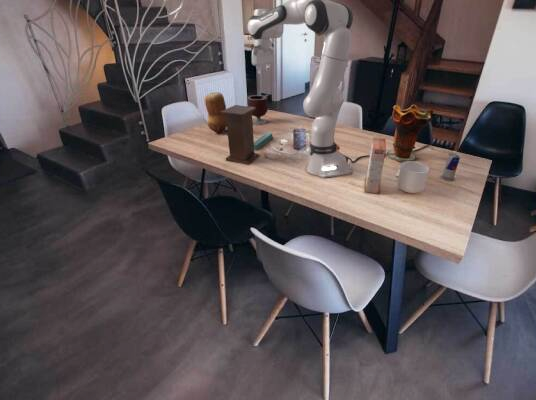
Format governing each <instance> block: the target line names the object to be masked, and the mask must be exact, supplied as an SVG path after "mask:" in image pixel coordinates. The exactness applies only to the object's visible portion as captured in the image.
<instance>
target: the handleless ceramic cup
mask: <svg viewBox="0 0 536 400" xmlns="http://www.w3.org/2000/svg"><path fill="white" fill-rule="evenodd" d="M429 170H430V167H429V166H428V165H426V164H425V163H423V162H419V161H415V160H414V161H406V162H404V161H402V163H400V167H399V172H398V176H397V180H396V181H397V182H396V184H397V187H398V189H400V190H401V191H403V192H405V193H408V194H418V193H420V192H422V191H423V190H424V189H425V186H426V183H427V179H428V175H429V172H430V171H429Z"/></svg>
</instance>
